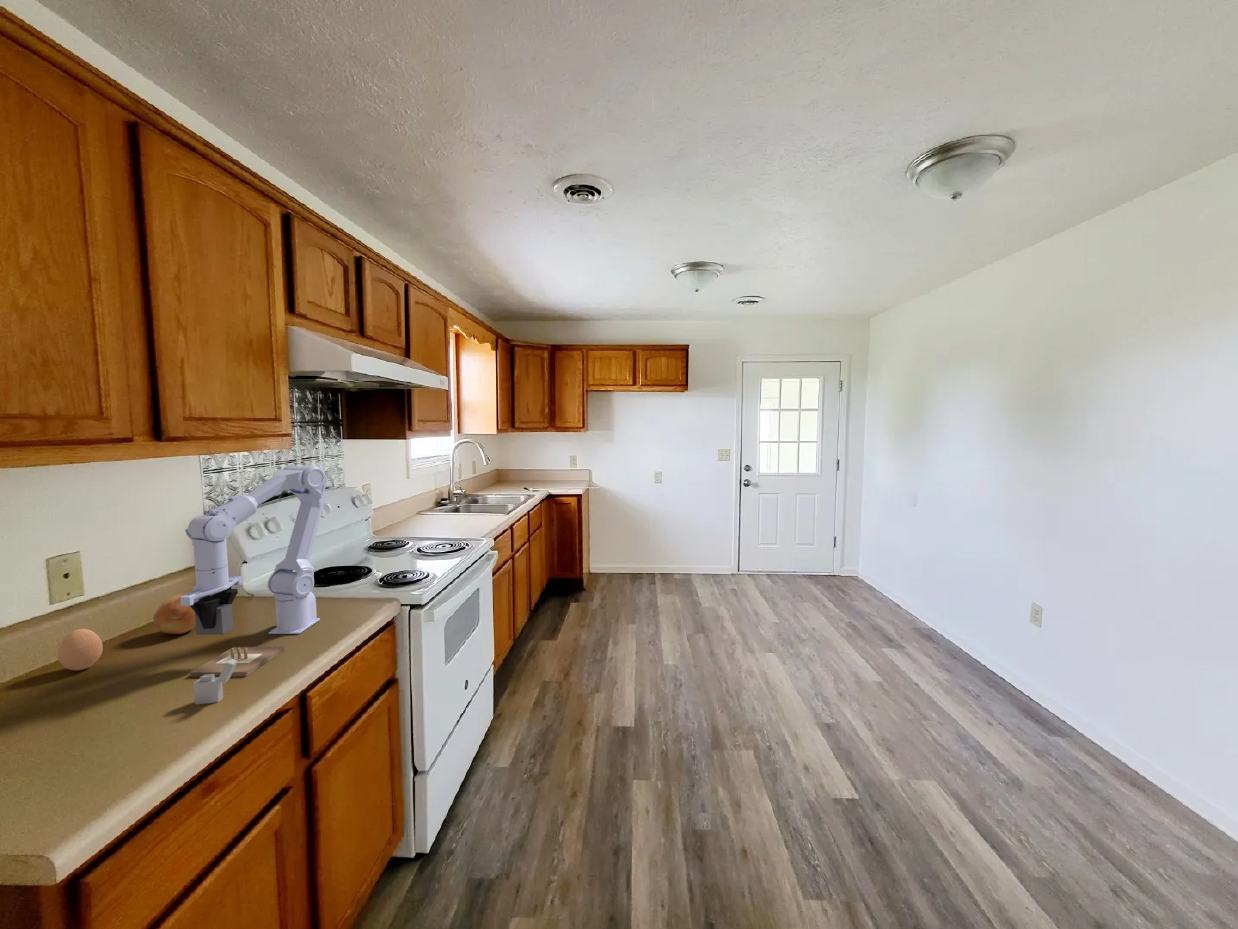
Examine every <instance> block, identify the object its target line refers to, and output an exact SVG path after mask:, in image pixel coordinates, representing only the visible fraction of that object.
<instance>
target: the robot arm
mask: <svg viewBox="0 0 1238 929" xmlns="http://www.w3.org/2000/svg"><path fill="white" fill-rule="evenodd" d="M327 482H328V477H327V475H326V474H325V472H324V470H323V469H322V468H321V467H319V466H316V465H315V466H313V465H312V466H302V465H299V466H298V465H293V464H291V465H287V466H286V465H285V466H284V467H283V468H282V469H279V470H277V471H276V472H275V473H274V475H273V476H272V477H270V478H269V479H268V480H266V481H265V482H263V483H261V485H259V486H258V487H256V488H255V489H254V490H252V491H251V492H249V493H248V494H246V495H244V494H237V495H231V496H229V497H228V498H227V501H226V502H223V504H221V505H219V506H218V507H216V508H211V509H209V510H208V513H207V514H203V515H201V514H200V515H197V516H195V517H194V518H192V519H191V520H190V522H189V524H188V525H187V528H186V529H185V530H184V532H185V534H186V536H187V537H188V538H189V539H190V540H191V542H192V547H193V558H194V571H195V572H194V574H195V585H194V586H193V587H192V590H191V591H189V592H188V593H186V594H183V595H184V596H182V597H180V599H181V606H190V607H191V608H192V609H193V610H194V611H195V613H196V614H197V616H198V618H199V619H200V622H201V624H202V626H203V629H212V628H214V627H215V623H216V609H217V605H218V604H232V605H233V602H234V600H235V598H236V597H237V595H238V592H239V590H238V588H233V587H235V586H240V585H242V584H243V580H242V579H243V578H242V575H241V576H239V575H237V576H236V575H233V576H230V577H229V564H228V563H229V562H228V560H229V559H228V550H227V549H228V547H227V546H228V544H227V543H228V542H227V539H228V538H229V537H230V536H231V534H232V533H233V530H234V528H236V527H238V525H240V524H241V523H243V522H244V521H246V520H247V519H249V518H250V517H252V516H254V514H256V513H257V511H258V506H259V505H261V504H263V503H265V502H266V501H268V500H270V499H271V498H273V497H275V496H277V495H279V494H280V493H282V492H284V491H285V490H288V491H290V492H291V493H292V494H293V495H295V496H296V498H297V499H298V500H299V502H300V504H299V506H298V511H297V515H296V518H295V522H294V526H293V529H292V533H291V536H290V539H289V544H288V547H287V550H286V554H285V557H284V559H282V561H280V562H278V564H276V565H275V568H274V570H273V572H272V574H271V575H270V576H269V577H268V580H267V589H268V590H269V592H270V593H272V594H273V597H274V599H275V614H276V616H275V618H276V627H274V628H273V629H272V630H270V631H269V632H268V634H269V635H298V634H301V633H303V632H304V631H305V630H307V629H308V628H310V627H311V626H313V625H314V624H315V623H316V624H317V622H318V621H320V620H321V618H320V617H317V601H316V600H317V599H316V595H315V594H314V593H313V592H312V590H313V588H314V585H315V579H314V578H315V577H314V576H315V575H314V573H315V568H314V566H313V565H312V564H311V563H310V557H311V554H312V550H313V545H314V542H315V539H316V536H317V531H318V529H319V525H320V521H321V517H322V512H323V510H324V506H325V502H326V485H327Z"/></svg>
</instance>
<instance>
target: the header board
mask: <svg viewBox="0 0 1238 929" xmlns="http://www.w3.org/2000/svg"><path fill="white" fill-rule="evenodd" d="M284 648H285V647H284V646H233V647H231V648H229V649H227V650H226V651H224V652H222V653H220V654H219V655H218V656H215V657H213V658H212V659H210V660H209V661H207V662H206V663H204V664H202V665H200V666H198V667H197V668H196V669H194V670H192V671H190V672H189V675H190V678H191V677H192V678H200V677H201V676H203V675H206V674H214V675H215V678H216V677H219V676H220V674H221V672H222V670H223V668H224V666H225V664H226V663H227V661H229V660H230V659H234V660H238V662H237V664H236V666H235V668H234V670H233V672H232V675H231V677H248V676H249V675H251V674H252V673H254V672H255V671H256V670H258V669H259V668H261V667H262V666H264V665H265V664H266V663H268V662H269V661H271V660H272V659H274V658H275V657H276V656H278V655H280V654H281V653H283V652H284ZM231 677H230V678H231Z"/></svg>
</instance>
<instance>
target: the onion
mask: <svg viewBox="0 0 1238 929" xmlns="http://www.w3.org/2000/svg"><path fill="white" fill-rule="evenodd" d="M184 595H185V594H180V593H179V594H175V595H174V596H171V597H169V598H168V599H167V600H164V602H162V603H161V605H160V606H159V607H158V608H157V610H156V611H155V612H154V614H153V617H152V618H153V619H152V620H153V621H152V622H153V623H154V625H155V627H156V628H157V629H158V630H159V631H160V632H162V633H165V634H170V635H184V634H185V633H188V632H190V631H191V630H193V629H194V628H196V622H195V611H194V610H193V609H192V608H191V607H190V606H181V599H180V597H182V596H184Z"/></svg>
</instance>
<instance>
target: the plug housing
mask: <svg viewBox="0 0 1238 929" xmlns="http://www.w3.org/2000/svg"><path fill="white" fill-rule="evenodd" d="M233 617H234V616H233V603H232V604H218V605H217V609H216V623H215V627H214V628H212V629H203V626H202V624H201V622H200V619H199V618H198V616H197V614H196V613H195V622H196V626H195V634H196V635H198V636H199V635H202V636H203V635H204V636H205V635H206V636H207V635H208V636H210V635H219V636H220V635H222V636H223V635H225V634H227V633H229V632H230V631H232V630H234V619H233Z"/></svg>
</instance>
